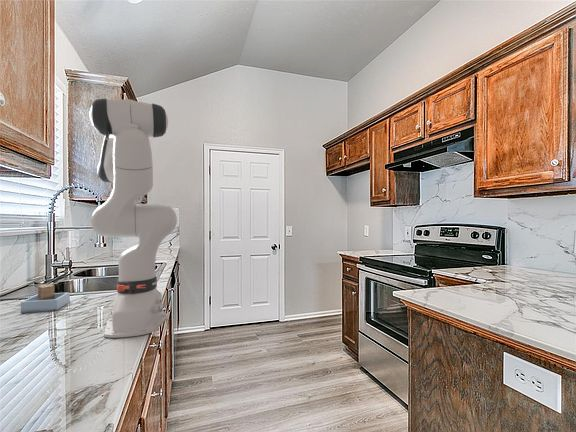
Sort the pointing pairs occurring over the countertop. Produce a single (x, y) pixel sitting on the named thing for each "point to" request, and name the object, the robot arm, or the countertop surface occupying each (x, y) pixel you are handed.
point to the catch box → (44, 303)
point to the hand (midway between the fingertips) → (124, 227)
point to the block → (46, 292)
